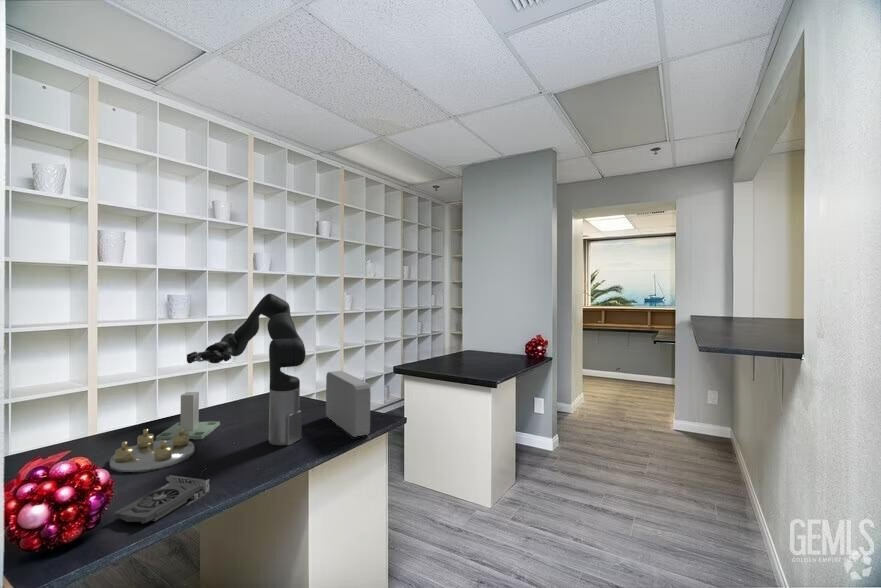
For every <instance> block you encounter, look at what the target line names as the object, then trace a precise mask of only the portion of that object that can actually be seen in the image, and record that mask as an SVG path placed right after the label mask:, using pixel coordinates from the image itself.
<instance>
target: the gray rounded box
mask: <svg viewBox="0 0 881 588" xmlns="http://www.w3.org/2000/svg"><path fill="white" fill-rule="evenodd" d="M325 382H326V383H325V385H326V386H325V388H326V389H325V415H326V418H327V417H328V418H329V419H331V420H332V421H333V422H335V423H336V424H337V425H339V426H340V427H342V428H343V429H344V430H346V431H347V432H348V433H350V434H351V435H352V436H354V437H357V436H362V435H367V436H369V435H368V434H370V433H371V432H370V431H371V394H372V393H371V386H370V384H369V383H368V382H366V381H364V380H362V379H360V378H358V377H356V376H354V375H352V374H350V373H347V372H345V371H343V370H336V371H328V372H326V379H325ZM328 418H327V419H328ZM329 419H328V420H329ZM333 422H332V423H333ZM337 425H336V426H337ZM362 437H363V436H362ZM357 438H358V437H357Z"/></svg>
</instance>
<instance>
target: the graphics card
mask: <svg viewBox="0 0 881 588" xmlns="http://www.w3.org/2000/svg"><path fill="white" fill-rule="evenodd" d="M166 481H168V483H166V484H164V485H163V486H161V487H159V488H157V489H155V490H154V491H152V492H150V493H148V494H145V495H143V497H140V498H139V499H137V500H135V501H133V502H131V503H129V504H127V505H126V506H124V507H122V508H120V509H118V510H116V511H114V520H117V519H120V520H122V521H125V522H126V523H132V522H134V523H137V522H138V523H140V524H142V525H143V524H146V523H148V522H150V521H151V522H152V521H153V522H156V521H157V520H159V519H162V518H163V517H165V516H166V515H168V514H169V513H171V512H173V511H174V510H176V509H177V508H179V507H181V506H182V505H184V504H186V506H185V507H187V506H190V505H191V504H192V503H194V502H196V501H197V500H199V499H200V498H202V497H204V496H205V495H206V494H207V493H209V492H210V478H209V479H206V480H204V479H203V478H202V479H201V478H193V477H185V476H178V475H168V476H166ZM190 481H191V482H190ZM188 500H189V502H188ZM187 502H188V503H187Z"/></svg>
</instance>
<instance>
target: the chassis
mask: <svg viewBox="0 0 881 588" xmlns="http://www.w3.org/2000/svg"><path fill="white" fill-rule="evenodd" d="M142 433H143V434H140V435H138V436H137V439H136V442H137V444H136V445H132V446H130V445H129V446H128V441H127V440H126V441H125V440H123V441H122V442H121V447H119V448H117V449H115V451H114V454H113V455H112V456H111V457H110V459H109V468H110V469H111V470H112V471H113V470H115V471H114V472H116V471H117V473H122V472H133V473H132V474H135V473H134V472H137V474H138V473H146V472H152V471H151V470H153V471H157V470H156V469H158V470H162V469H165V467H166V468H168V466H169V467H171V466H174V465H177V464H180V463H182V462H183V461H186V460H187V459H189V458H190V457H192V456H193V455H194V452H195V443H194V442H193V441H190V440H189V433H184V428H180V429H179V434H176V435H174V436H173V439H170V440H155V439H154V438H155V434H153V433H149V428H144V429H143V431H142Z"/></svg>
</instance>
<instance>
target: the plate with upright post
mask: <svg viewBox="0 0 881 588" xmlns="http://www.w3.org/2000/svg"><path fill="white" fill-rule="evenodd" d="M199 407H200V392H199V391H187V392H184V393H182V394H180V414H179V415H180V418H179V419H180V422H179V421H178V422H176V423H175V424H173V425H171V426H170V427H169V428H167V429H165V430H164V431H163V432H160V433H159V434H158V435H156V436H155V441H159V440H162V439H163V440H164V439H173V436H174V435H176V434H179V429H180V428H184V433H189V439H193V440H203V439H204V438H206V437H207V436H208V435H209V434H210V433H212V432H213V431H214V430H216V428H217V427H219V426H220V425H221V422H220V421H199V419H200V418H199V415H200V413H199V412H200V411H199V410H200V408H199ZM205 436H206V437H205Z"/></svg>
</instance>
